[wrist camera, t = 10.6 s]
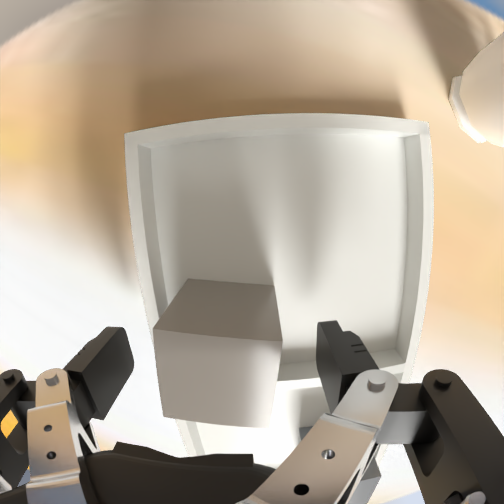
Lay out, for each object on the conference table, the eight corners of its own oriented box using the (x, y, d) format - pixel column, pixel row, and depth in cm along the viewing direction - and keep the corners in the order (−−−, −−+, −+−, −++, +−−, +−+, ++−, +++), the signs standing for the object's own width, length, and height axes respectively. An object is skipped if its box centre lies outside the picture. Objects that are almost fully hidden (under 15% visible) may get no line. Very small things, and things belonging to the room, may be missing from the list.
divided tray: (408, 128, 12) (428, 122, 10) (367, 462, 17) (372, 479, 15) (142, 139, 12) (124, 133, 10) (207, 475, 18) (204, 493, 16)
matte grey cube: (359, 418, 15) (381, 475, 10) (351, 452, 16) (366, 504, 11) (298, 427, 15) (307, 490, 10) (297, 460, 16) (304, 515, 11)
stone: (274, 285, 13) (282, 341, 8) (266, 357, 14) (268, 428, 9) (188, 278, 13) (152, 328, 8) (189, 350, 14) (163, 416, 9)
